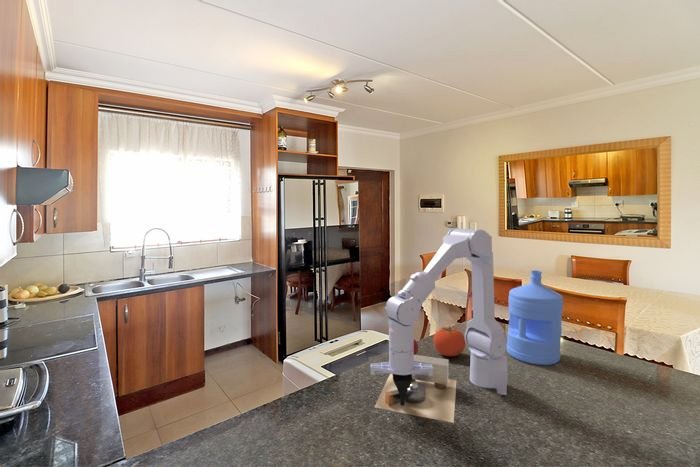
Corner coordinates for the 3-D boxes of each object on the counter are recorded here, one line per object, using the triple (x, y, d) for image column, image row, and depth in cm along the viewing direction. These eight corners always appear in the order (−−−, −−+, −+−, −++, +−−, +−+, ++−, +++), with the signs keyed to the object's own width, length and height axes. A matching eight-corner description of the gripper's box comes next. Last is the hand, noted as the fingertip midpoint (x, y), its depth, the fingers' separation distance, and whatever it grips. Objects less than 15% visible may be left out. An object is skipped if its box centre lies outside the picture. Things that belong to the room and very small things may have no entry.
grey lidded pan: (415, 388, 91) (416, 376, 91) (430, 400, 85) (430, 387, 85) (380, 397, 86) (380, 385, 86) (393, 410, 81) (393, 397, 81)
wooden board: (456, 384, 96) (456, 373, 95) (453, 428, 77) (453, 414, 76) (391, 374, 101) (392, 364, 101) (374, 412, 82) (374, 399, 82)
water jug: (523, 342, 125) (527, 265, 123) (569, 359, 112) (574, 273, 110) (496, 352, 117) (499, 269, 115) (542, 370, 104) (547, 278, 102)
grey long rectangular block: (448, 377, 93) (448, 359, 93) (447, 384, 89) (447, 365, 89) (403, 370, 97) (403, 353, 97) (400, 377, 93) (401, 359, 93)
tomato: (443, 346, 122) (443, 318, 121) (470, 355, 114) (471, 325, 114) (426, 355, 115) (427, 325, 114) (455, 365, 107) (456, 333, 106)
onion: (417, 363, 108) (418, 338, 108) (399, 361, 109) (399, 336, 109) (418, 355, 114) (418, 331, 113) (400, 354, 115) (400, 330, 115)
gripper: (429, 341, 85) (429, 394, 86) (370, 340, 86) (371, 393, 87) (434, 353, 78) (434, 411, 79) (370, 352, 79) (370, 409, 80)
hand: (401, 403), depth 83 cm, fingers closed, pressing on grey lidded pan
